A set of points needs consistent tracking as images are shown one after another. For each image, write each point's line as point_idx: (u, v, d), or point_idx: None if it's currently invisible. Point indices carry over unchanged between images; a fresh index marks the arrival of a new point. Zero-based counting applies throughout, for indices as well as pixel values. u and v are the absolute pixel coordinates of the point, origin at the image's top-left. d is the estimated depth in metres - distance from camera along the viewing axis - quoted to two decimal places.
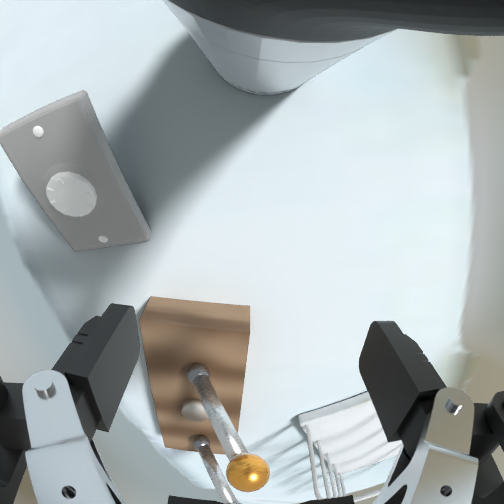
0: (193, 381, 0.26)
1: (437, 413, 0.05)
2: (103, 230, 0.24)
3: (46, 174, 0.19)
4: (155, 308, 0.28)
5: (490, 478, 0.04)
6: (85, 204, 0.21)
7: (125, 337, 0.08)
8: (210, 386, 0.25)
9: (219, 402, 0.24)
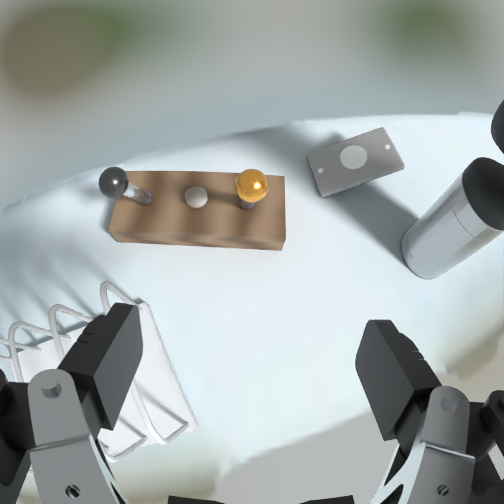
0: None
1: (432, 412, 0.05)
2: (327, 171, 0.47)
3: (364, 147, 0.45)
4: None
5: (487, 477, 0.04)
6: (350, 163, 0.45)
7: (130, 336, 0.09)
8: (254, 202, 0.38)
9: None
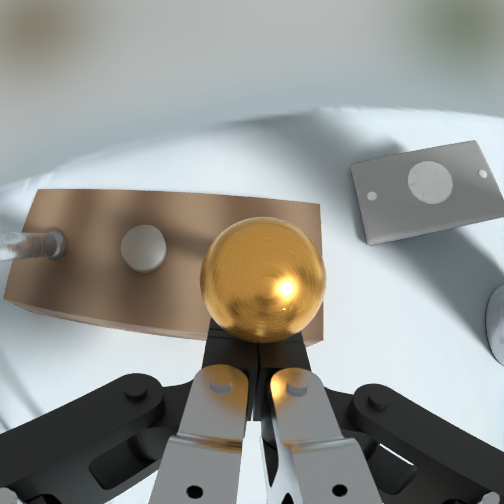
0: None
1: (281, 404, 0.06)
2: (384, 199, 0.26)
3: (447, 168, 0.24)
4: None
5: (390, 469, 0.06)
6: (424, 191, 0.23)
7: None
8: None
9: None
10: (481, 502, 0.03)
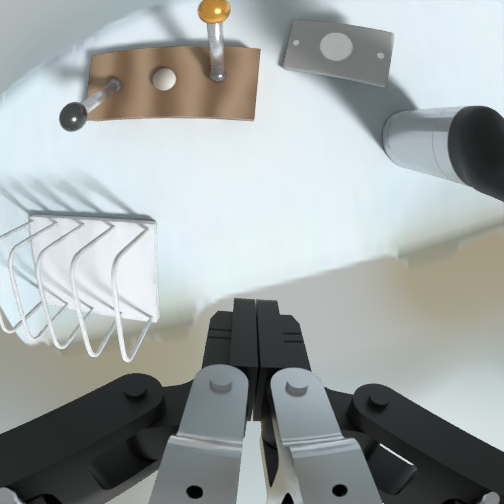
0: None
1: (281, 404, 0.06)
2: (302, 47, 0.35)
3: (355, 42, 0.31)
4: None
5: (390, 469, 0.06)
6: (327, 51, 0.33)
7: None
8: (222, 66, 0.31)
9: (221, 56, 0.29)
10: (481, 502, 0.03)
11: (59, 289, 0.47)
